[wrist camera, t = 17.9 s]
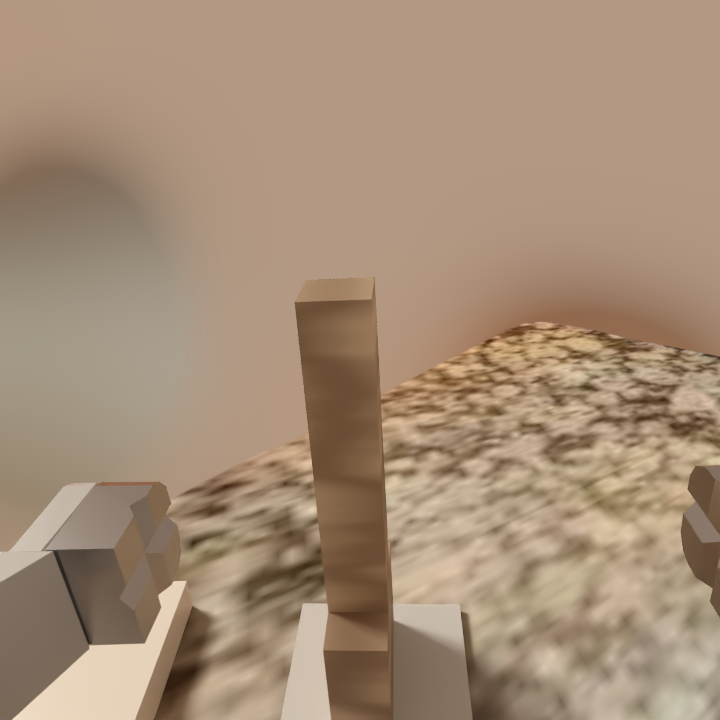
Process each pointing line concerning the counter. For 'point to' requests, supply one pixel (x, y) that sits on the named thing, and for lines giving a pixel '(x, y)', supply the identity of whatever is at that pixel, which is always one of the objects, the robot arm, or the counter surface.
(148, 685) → the slab tile
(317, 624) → the rest mat
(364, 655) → the stacked wooden blocks
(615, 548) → the counter surface
